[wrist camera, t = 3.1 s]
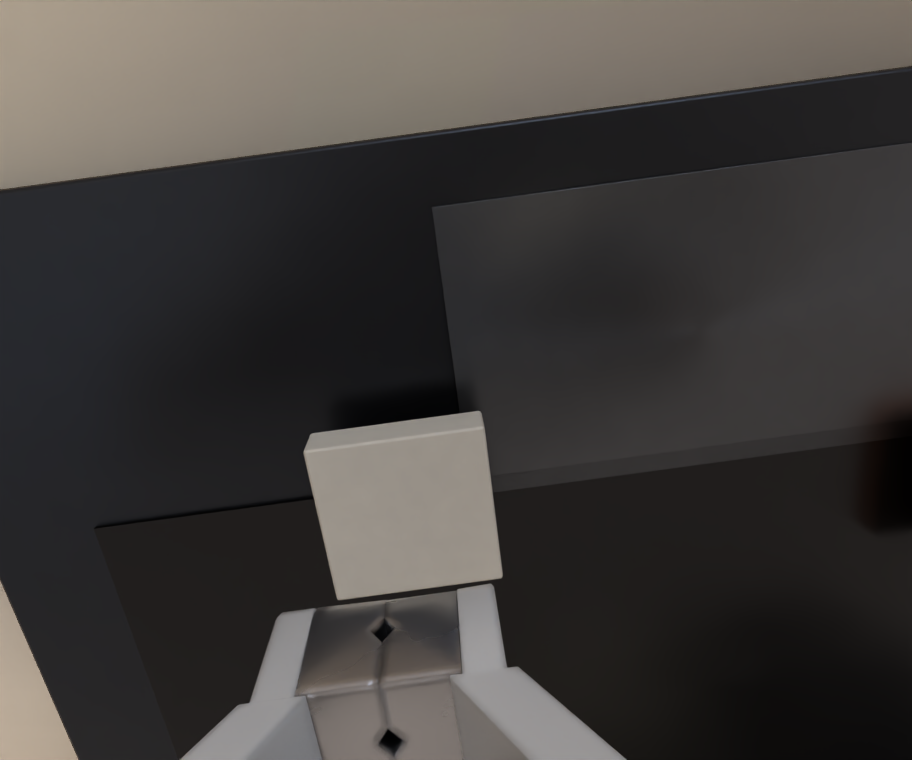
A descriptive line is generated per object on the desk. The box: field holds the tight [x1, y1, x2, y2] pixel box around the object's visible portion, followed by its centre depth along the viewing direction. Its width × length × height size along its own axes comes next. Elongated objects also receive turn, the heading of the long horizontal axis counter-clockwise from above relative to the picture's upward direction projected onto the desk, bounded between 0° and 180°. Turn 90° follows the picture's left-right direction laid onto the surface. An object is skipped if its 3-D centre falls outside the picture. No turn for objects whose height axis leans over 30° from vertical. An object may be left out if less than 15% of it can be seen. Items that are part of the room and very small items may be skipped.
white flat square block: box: [304, 411, 503, 600], centre depth 12 cm, size 3×3×1 cm
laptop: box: [0, 66, 912, 760], centre depth 16 cm, size 21×30×2 cm
